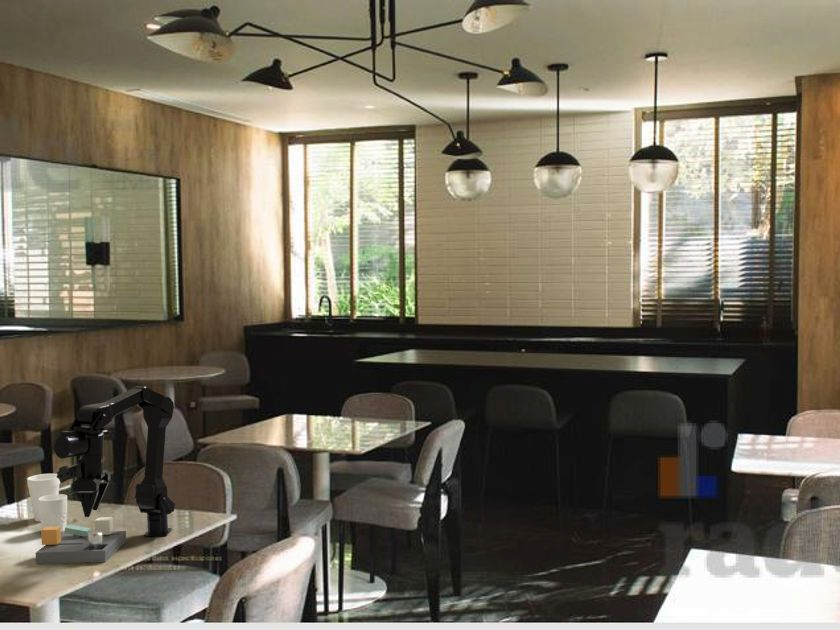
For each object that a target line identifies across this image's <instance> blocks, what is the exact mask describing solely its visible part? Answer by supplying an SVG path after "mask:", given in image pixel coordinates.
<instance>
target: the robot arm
mask: <svg viewBox="0 0 840 630" xmlns="http://www.w3.org/2000/svg"><path fill="white" fill-rule="evenodd" d="M174 404H175V403H174V401H173V399H172V398H170V396H165V395H163V394H162V393H159V392H156V391H154V390H152V389H151V388H149V387H148V386H139V385H138V386H132V387H130V389H129V390H126V391H125V392H123V393H120V394H118V395H116V396H114V397H112V398H109V399H108V400H106V401H104V402H100V403H99V402H98V403H92V404H88V405H84V406H81V407H80V408H79V409H78V410H77V414H76V416H75V418H74V419H73V421H72V423H71V425H70V426H69V428H68V430H61V431H59V432H60V434H59V435H60V436H58V437H57V438H56V439H55V442H54V445H53V451H54V453H55V455H56V457H58V458H59V459H62V460H63V459H68V458H69V459H70V458H75V457H80V458H78V460H77V463H76V464H72V465H70V466H68V465H67V464H65V465H63V466H61V467H59V468H58V471H56V474H57V478H58V479H59V480H60V484H63V483H66V481H69V480H72V479H75V478H76V479H75V480H74V481H73V482H72V483H71V487H70V488H71V489H70V490H71V492H72V494H73V495H76V496H77V497H78V498H79V500H80V503H81V508H82V511H83V515H84V518H90V517H91V514H92V511H97V510H98V509H99V507H100V504H101V502H102V499H103V497H104V495H105V492H106V490H107V488H108V486H109V484H110V481H111V472H110V471H109V470H108V469H104V462H105V461H106V456H104V448H105V446H104V445H105V444H104V443H105V441H104V440H105V439H104V438H105V437H106V436H110V435H111V432H110V431H109V430H108V429H106V428H105V427H106V426H107V425H109V424H110V423H111V422H112V421H113V419H114V418H115V416H118V415H119V414H122V413H123V412H125V411H127V410H129V409H131V408H133V407H135V406H137V407H138V408H140V409H141V410H142V417H143V420H144V421H145V424H146V426H147V436H146V450H145V464H144V477H143V479H142V480H141V481H140V483H136V486H135V495H134V499H135V503H136V505H137V506H138V509H139V511H140V513H141V514H146V523H147V525H146V527H147V531H145V532H144V534H143V536H144V537H164V536H165V537H166V536H168V535H169V534H170V533H171V532H172V530H173V529H172V527H169V521H168V519H169V518H168V515H171V514H172V513H174V512H175V507H176V503H175V502H174V501H173V500H171V499H170V497H168V486H167V485H166V483H165V480H164V479H163V473H164V472H163V471H164V460H165V459H164V458H165V444H166V443H165V442H166V432H167V431H166V430H167V427H168V425H169V424H170V422H171V421H172V419H173V413H174V408H175V405H174Z"/></svg>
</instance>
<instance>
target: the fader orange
mask: <svg viewBox="0 0 840 630" xmlns="http://www.w3.org/2000/svg"><path fill="white" fill-rule="evenodd" d="M40 531H41V533H40V534H41V545H42V546H45V545H56V544H58V543H59V542H61V533H62V532H61V527H45V528H43V529H42V528H41V530H40Z"/></svg>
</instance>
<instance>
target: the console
mask: <svg viewBox="0 0 840 630" xmlns="http://www.w3.org/2000/svg"><path fill="white" fill-rule="evenodd" d="M126 543H127V531H126V530H113V532H112V533H111V534H110V535H103V548H102V549H98V550H89V542H88V536H86V537H84V536H79V535H73V534H68V533H64V532H61V542H59V543H58V544H56V545H43V546H42V547H41V548H39V550H37V551H36V552H35V564H36V565H46V564H48V565H49V564H50V565H52V564H53V565H55V564H83V563H85V564H87V563H86V562H90V563H106V562H107V561H108V560H109V559H110V558H111V557H112V556H113V555H114V554H115V553H117V551H119V549H120V548H121V547H122V546H123V545H124V544H126ZM121 545H122V546H121ZM120 546H121V547H120ZM119 547H120V548H119ZM118 548H119V549H118ZM116 550H117V551H116ZM113 553H114V554H113Z"/></svg>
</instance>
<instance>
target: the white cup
mask: <svg viewBox="0 0 840 630" xmlns="http://www.w3.org/2000/svg"><path fill="white" fill-rule="evenodd" d="M38 501H39V512H40V521H39V522H40V525H41V526H40V527H41V530H42V529H43V528H45V527H61V533H64V532H65V527H67V526H68V522H67V521H68V495H67V494H64V493H59V494H53V495H46V496H42V497H40V498H39V499H38Z"/></svg>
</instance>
